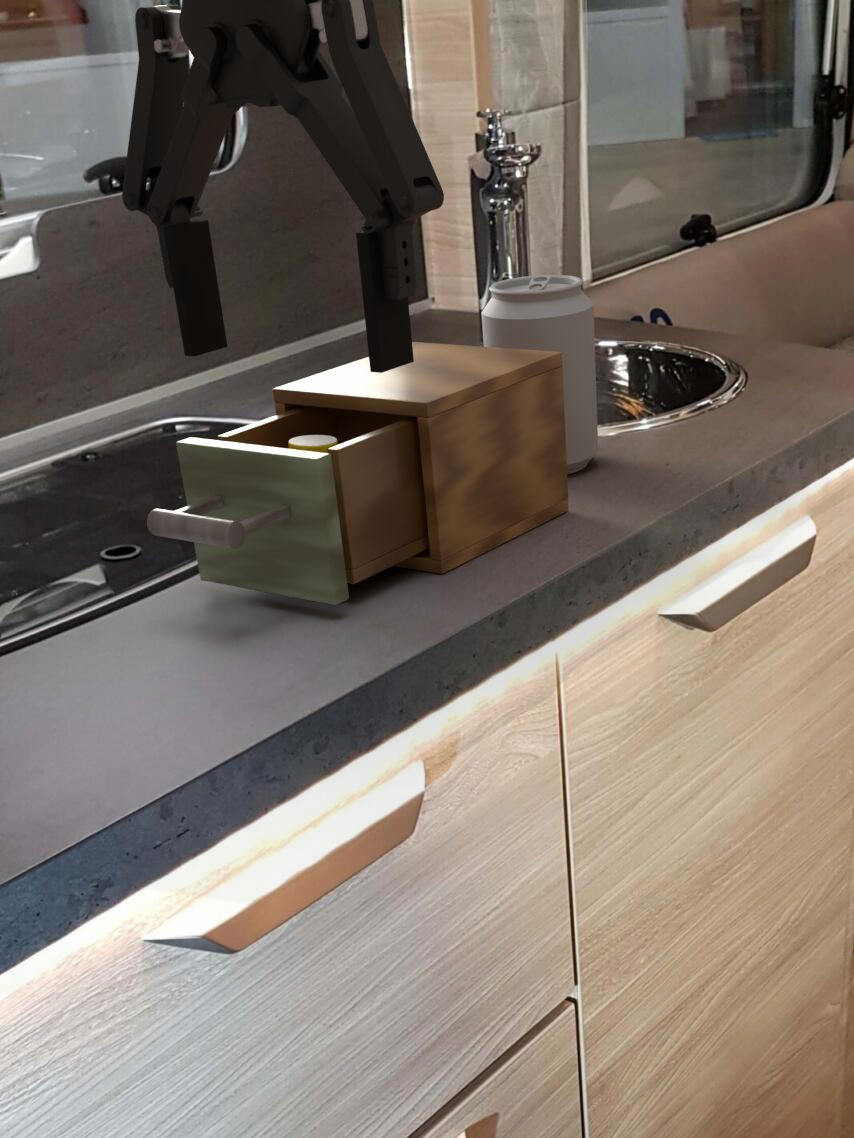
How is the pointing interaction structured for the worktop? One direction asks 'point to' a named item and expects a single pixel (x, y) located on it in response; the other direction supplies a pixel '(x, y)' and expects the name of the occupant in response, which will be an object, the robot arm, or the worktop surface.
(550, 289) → the can
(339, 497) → the drawer
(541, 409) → the cabinet
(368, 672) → the worktop surface
